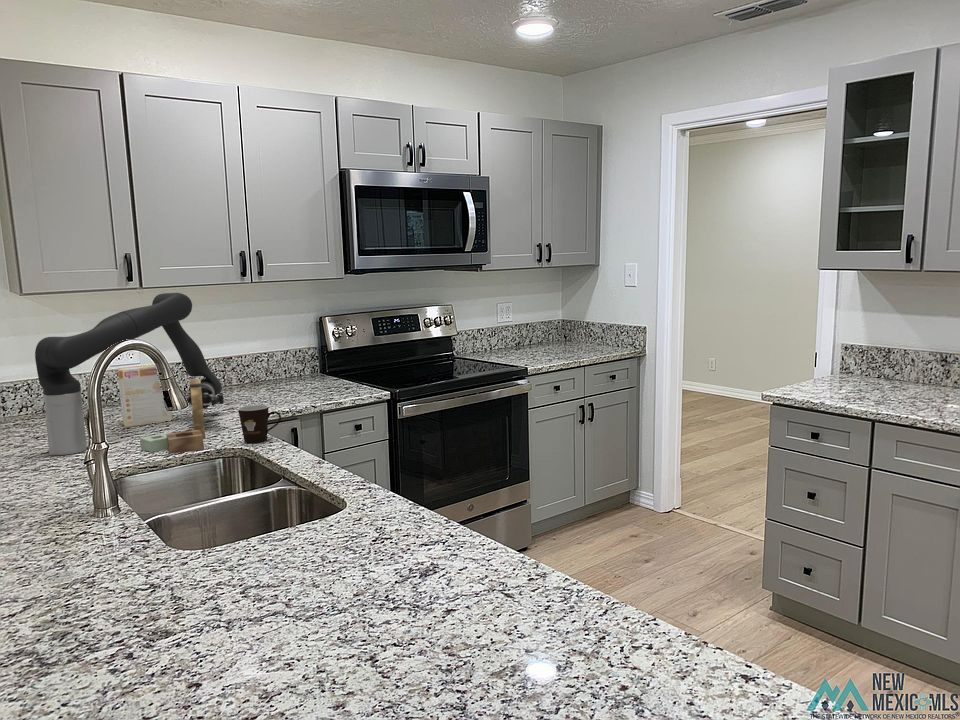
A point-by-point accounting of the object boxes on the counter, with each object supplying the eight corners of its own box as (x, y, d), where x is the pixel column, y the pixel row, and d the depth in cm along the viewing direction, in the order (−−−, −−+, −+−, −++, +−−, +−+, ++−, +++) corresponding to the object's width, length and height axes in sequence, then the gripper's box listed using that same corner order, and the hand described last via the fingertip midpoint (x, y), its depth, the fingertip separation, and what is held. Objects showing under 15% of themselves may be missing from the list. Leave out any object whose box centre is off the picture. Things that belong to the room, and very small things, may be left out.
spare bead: (150, 452, 202) (149, 441, 202) (140, 448, 207) (139, 438, 206) (175, 447, 207) (174, 436, 207) (164, 443, 212) (164, 433, 211)
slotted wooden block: (169, 453, 200) (168, 439, 199) (167, 447, 208) (166, 433, 207) (204, 449, 204) (202, 435, 203) (200, 442, 212) (199, 429, 211)
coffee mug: (234, 443, 210) (231, 409, 209) (255, 436, 217) (253, 404, 216) (263, 446, 204) (261, 412, 203) (284, 439, 212) (282, 406, 211)
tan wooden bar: (195, 440, 215) (190, 381, 213) (194, 438, 218) (189, 379, 216) (206, 438, 217) (201, 380, 215) (204, 436, 220) (200, 378, 217)
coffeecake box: (169, 418, 251) (164, 363, 249) (173, 421, 245) (168, 365, 243) (122, 424, 244) (116, 367, 241) (125, 427, 238) (119, 369, 235)
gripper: (177, 386, 233) (172, 393, 218) (224, 382, 237) (221, 390, 222) (179, 408, 234) (174, 417, 219) (225, 405, 238) (223, 413, 223)
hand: (198, 403), depth 220 cm, fingers open, 8 cm apart
